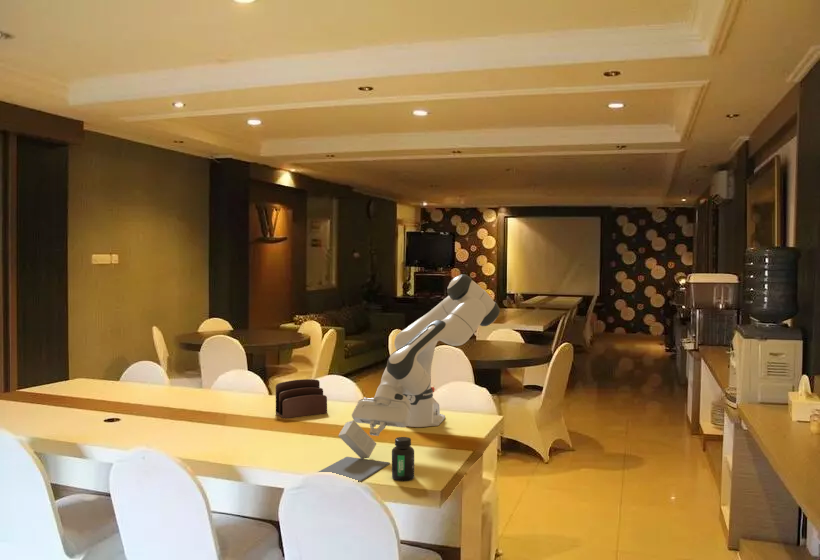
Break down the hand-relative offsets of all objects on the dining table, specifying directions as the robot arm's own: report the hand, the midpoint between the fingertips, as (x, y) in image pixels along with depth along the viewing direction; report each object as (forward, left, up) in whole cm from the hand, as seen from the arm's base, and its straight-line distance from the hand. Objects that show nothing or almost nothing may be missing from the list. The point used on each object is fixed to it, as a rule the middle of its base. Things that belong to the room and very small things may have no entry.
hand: (373, 434), depth 232 cm
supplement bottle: (+14, +18, -8) cm, 24 cm away
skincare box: (+1, -1, -6) cm, 6 cm away
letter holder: (-45, -59, -8) cm, 75 cm away
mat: (+13, 0, -8) cm, 16 cm away
